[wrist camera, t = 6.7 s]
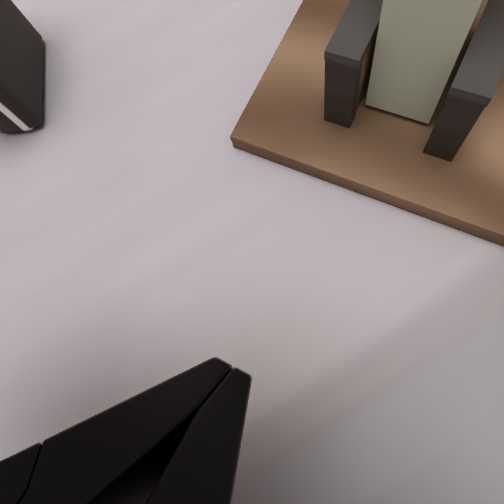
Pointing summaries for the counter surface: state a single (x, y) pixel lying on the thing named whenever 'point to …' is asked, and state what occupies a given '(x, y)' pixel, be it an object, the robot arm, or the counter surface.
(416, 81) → the bar
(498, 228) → the wooden channel stand
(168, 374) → the counter surface
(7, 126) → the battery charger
